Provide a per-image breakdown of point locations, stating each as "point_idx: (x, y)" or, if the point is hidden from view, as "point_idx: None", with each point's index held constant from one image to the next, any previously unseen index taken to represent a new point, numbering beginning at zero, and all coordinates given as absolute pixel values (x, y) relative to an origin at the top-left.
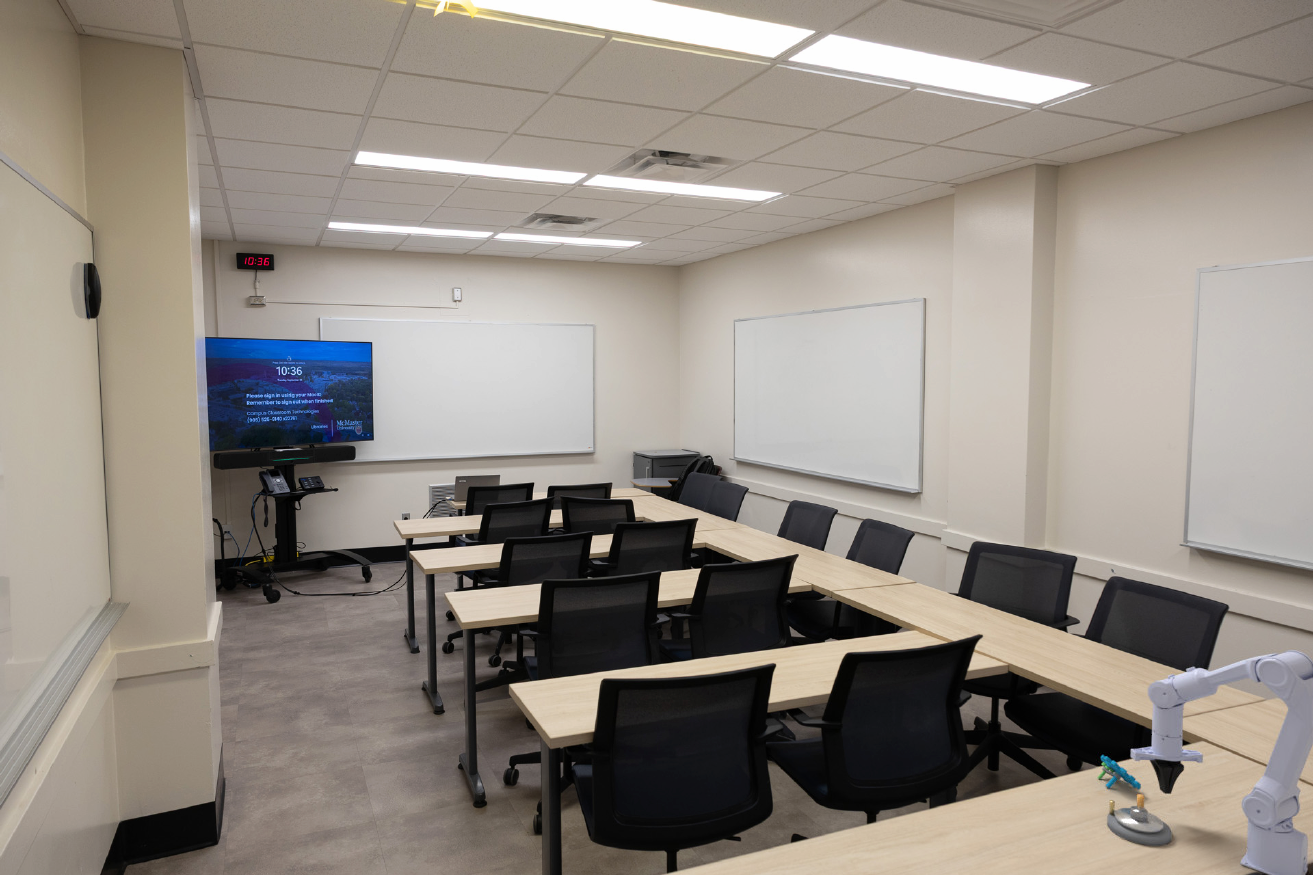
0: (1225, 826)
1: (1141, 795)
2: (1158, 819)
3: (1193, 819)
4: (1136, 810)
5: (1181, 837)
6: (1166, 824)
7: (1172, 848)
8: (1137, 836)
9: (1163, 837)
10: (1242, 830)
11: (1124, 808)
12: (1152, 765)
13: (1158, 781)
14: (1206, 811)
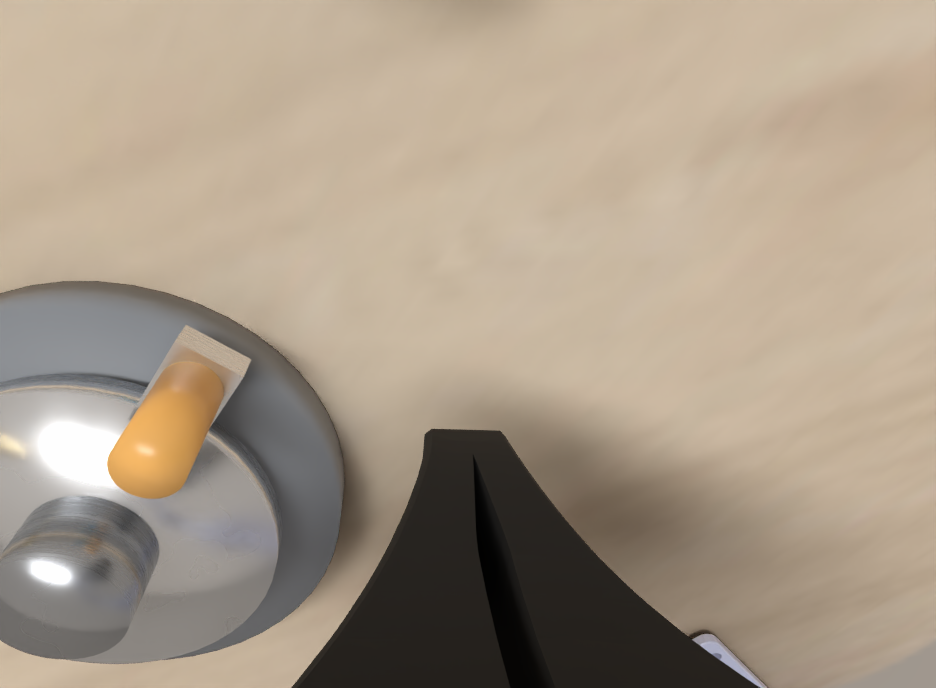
0: (815, 413)
1: (158, 464)
2: (259, 550)
3: (670, 328)
4: (21, 623)
5: None
6: (336, 511)
7: (263, 632)
8: None
9: (216, 643)
10: (876, 455)
11: (15, 401)
12: (316, 661)
13: (415, 485)
14: (893, 207)
